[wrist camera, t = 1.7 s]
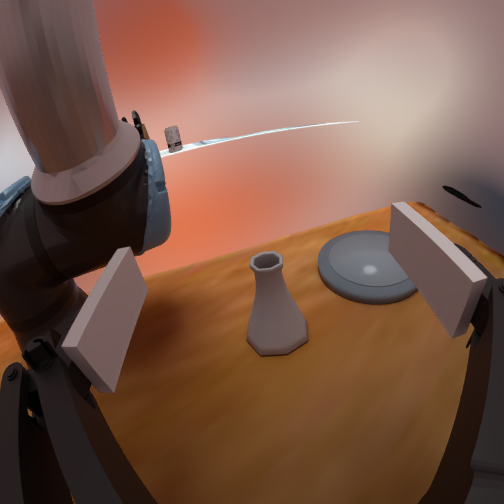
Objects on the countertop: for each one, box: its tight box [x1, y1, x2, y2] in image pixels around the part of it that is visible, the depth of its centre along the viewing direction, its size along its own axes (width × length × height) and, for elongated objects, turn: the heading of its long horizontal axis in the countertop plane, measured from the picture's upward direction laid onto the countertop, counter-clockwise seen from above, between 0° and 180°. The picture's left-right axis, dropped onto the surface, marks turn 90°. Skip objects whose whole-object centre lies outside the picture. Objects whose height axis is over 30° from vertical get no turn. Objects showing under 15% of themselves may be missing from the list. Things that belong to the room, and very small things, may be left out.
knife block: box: [122, 110, 150, 140], centre depth 145 cm, size 11×35×31 cm, turn 15°
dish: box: [318, 230, 418, 304], centre depth 38 cm, size 16×16×2 cm
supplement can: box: [164, 126, 183, 153], centre depth 154 cm, size 8×8×15 cm
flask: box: [246, 251, 308, 355], centre depth 29 cm, size 7×7×10 cm
